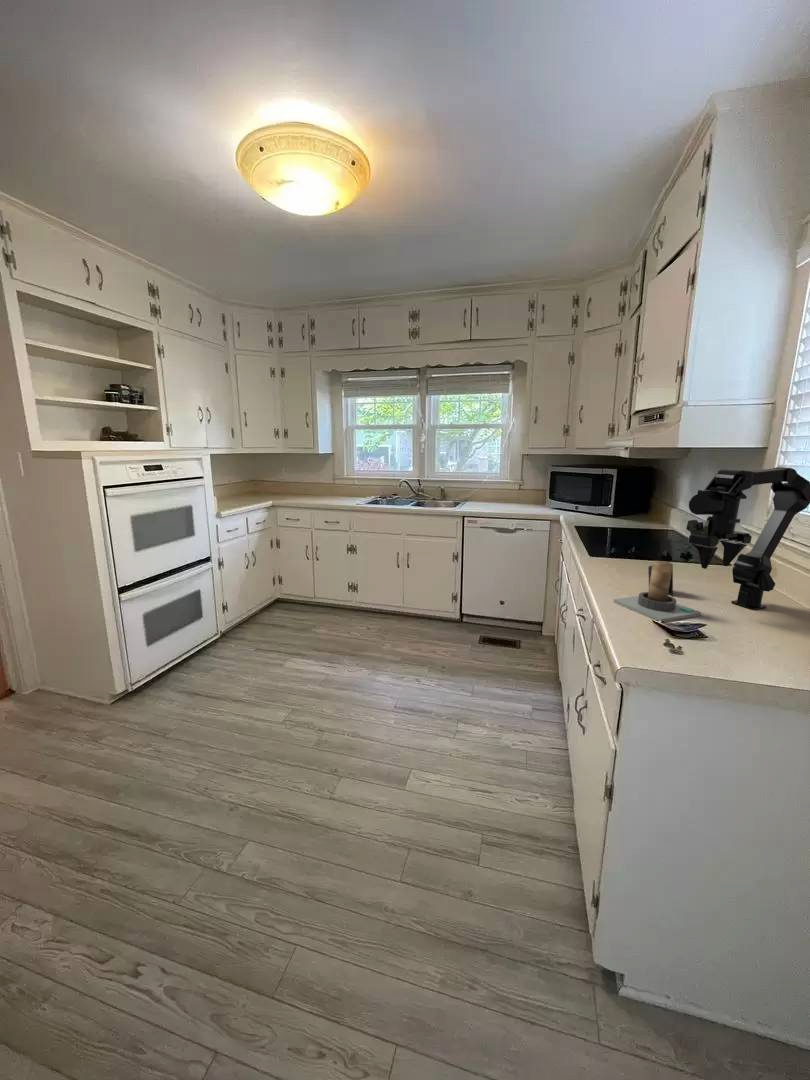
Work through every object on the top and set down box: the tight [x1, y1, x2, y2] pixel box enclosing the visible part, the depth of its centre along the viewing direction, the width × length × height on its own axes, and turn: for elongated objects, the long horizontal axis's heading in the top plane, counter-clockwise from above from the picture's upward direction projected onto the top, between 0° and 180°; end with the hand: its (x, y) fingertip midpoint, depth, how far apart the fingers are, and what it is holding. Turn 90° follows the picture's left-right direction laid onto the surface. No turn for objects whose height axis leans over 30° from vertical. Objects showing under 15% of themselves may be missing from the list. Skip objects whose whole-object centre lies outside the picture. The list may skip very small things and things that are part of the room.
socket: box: [613, 591, 702, 622], centre depth 126 cm, size 16×16×4 cm
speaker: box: [647, 561, 674, 597], centre depth 141 cm, size 8×6×10 cm
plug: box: [647, 560, 674, 602], centre depth 125 cm, size 5×5×13 cm
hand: (714, 567), depth 125 cm, fingers open, 9 cm apart
